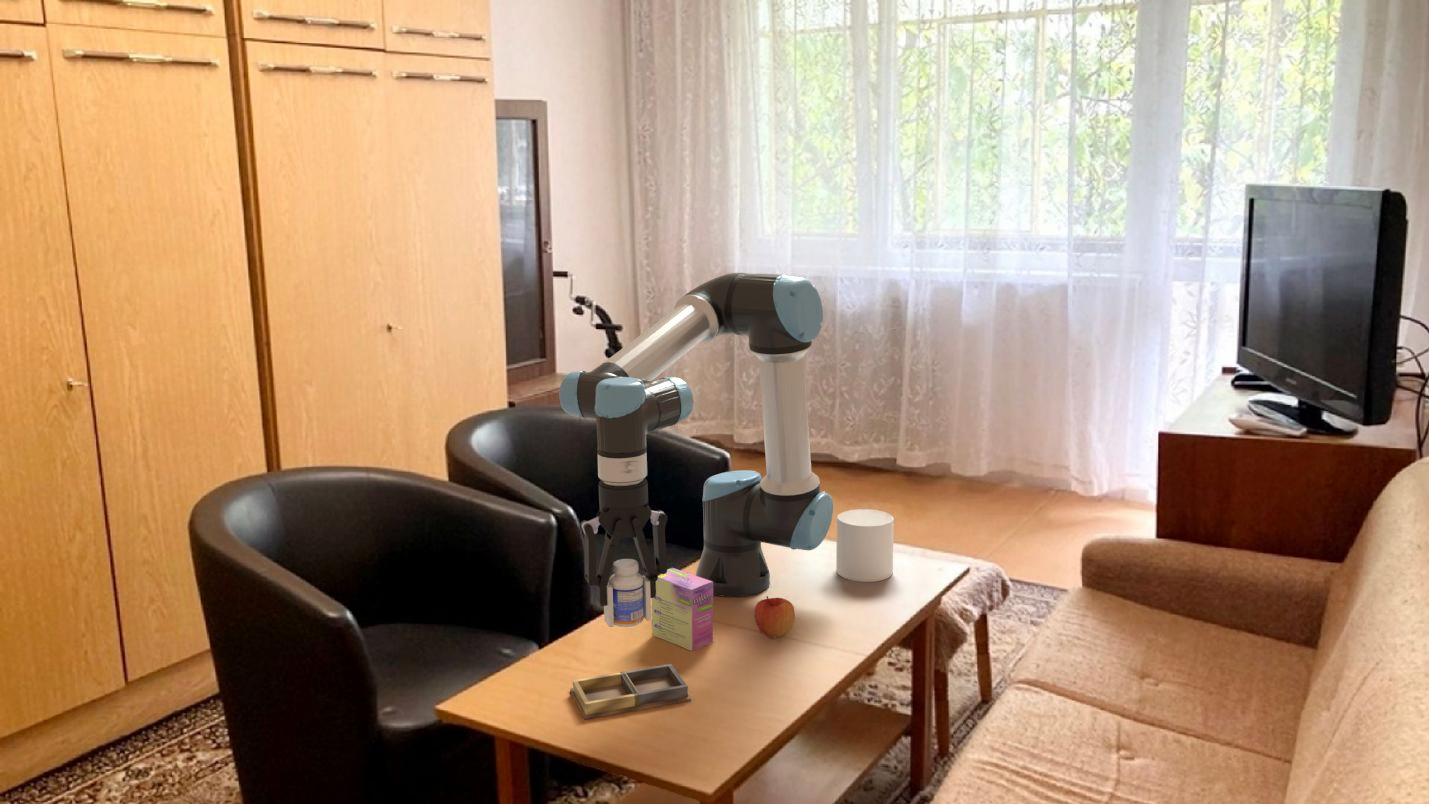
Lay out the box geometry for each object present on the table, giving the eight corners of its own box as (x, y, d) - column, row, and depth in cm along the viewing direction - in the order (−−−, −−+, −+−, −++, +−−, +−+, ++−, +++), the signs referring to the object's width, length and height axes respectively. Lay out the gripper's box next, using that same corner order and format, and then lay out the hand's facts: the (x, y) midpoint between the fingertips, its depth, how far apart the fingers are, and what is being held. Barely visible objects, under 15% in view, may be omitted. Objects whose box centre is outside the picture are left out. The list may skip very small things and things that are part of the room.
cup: (896, 582, 233) (897, 526, 231) (839, 582, 234) (839, 526, 231) (888, 561, 245) (889, 508, 242) (834, 562, 245) (834, 508, 243)
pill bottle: (609, 614, 183) (607, 557, 181) (643, 612, 183) (641, 555, 181) (610, 629, 178) (608, 570, 175) (645, 626, 178) (643, 568, 176)
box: (714, 642, 206) (713, 580, 204) (692, 652, 202) (691, 589, 200) (673, 626, 213) (672, 566, 211) (651, 636, 209) (650, 575, 207)
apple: (802, 638, 207) (802, 597, 205) (769, 648, 203) (768, 606, 202) (780, 624, 213) (780, 584, 211) (747, 633, 210) (746, 592, 208)
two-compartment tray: (584, 719, 179) (584, 706, 178) (570, 691, 188) (569, 678, 188) (691, 700, 184) (691, 688, 184) (671, 673, 194) (671, 661, 193)
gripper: (570, 493, 168) (577, 639, 173) (687, 478, 175) (690, 619, 180) (558, 479, 175) (564, 620, 180) (671, 466, 182) (674, 602, 187)
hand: (627, 620), depth 180 cm, fingers closed on pill bottle, 5 cm apart
